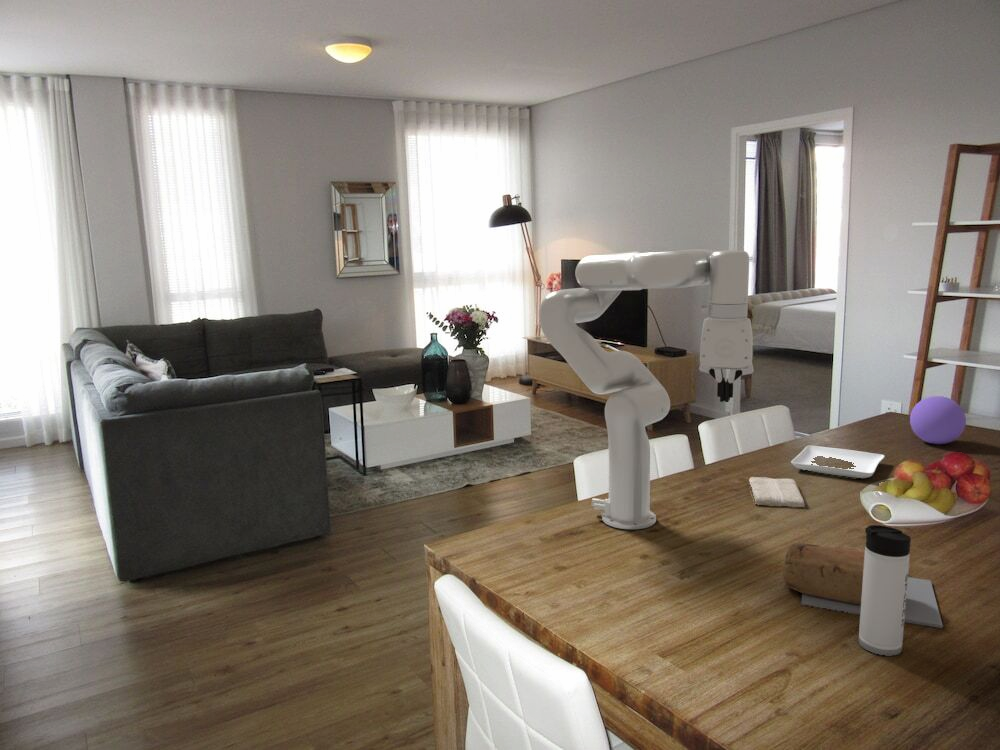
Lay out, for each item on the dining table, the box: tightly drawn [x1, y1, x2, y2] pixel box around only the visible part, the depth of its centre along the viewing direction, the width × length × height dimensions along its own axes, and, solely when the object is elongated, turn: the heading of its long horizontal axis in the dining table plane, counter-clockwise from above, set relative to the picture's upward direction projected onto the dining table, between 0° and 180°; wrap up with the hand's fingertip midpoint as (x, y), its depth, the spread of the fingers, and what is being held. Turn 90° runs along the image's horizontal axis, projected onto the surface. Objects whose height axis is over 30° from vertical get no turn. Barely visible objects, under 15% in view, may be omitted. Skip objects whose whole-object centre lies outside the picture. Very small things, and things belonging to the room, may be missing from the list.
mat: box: [801, 576, 944, 629], centre depth 137 cm, size 22×18×1 cm
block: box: [782, 542, 865, 605], centre depth 136 cm, size 11×8×20 cm
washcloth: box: [748, 476, 806, 508], centre depth 190 cm, size 12×18×3 cm, turn 168°
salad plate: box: [790, 444, 885, 479], centre depth 211 cm, size 21×21×3 cm
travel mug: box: [858, 524, 912, 657], centre depth 118 cm, size 6×7×20 cm
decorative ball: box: [909, 395, 967, 445], centre depth 231 cm, size 15×15×15 cm
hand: (724, 400), depth 153 cm, fingers closed
